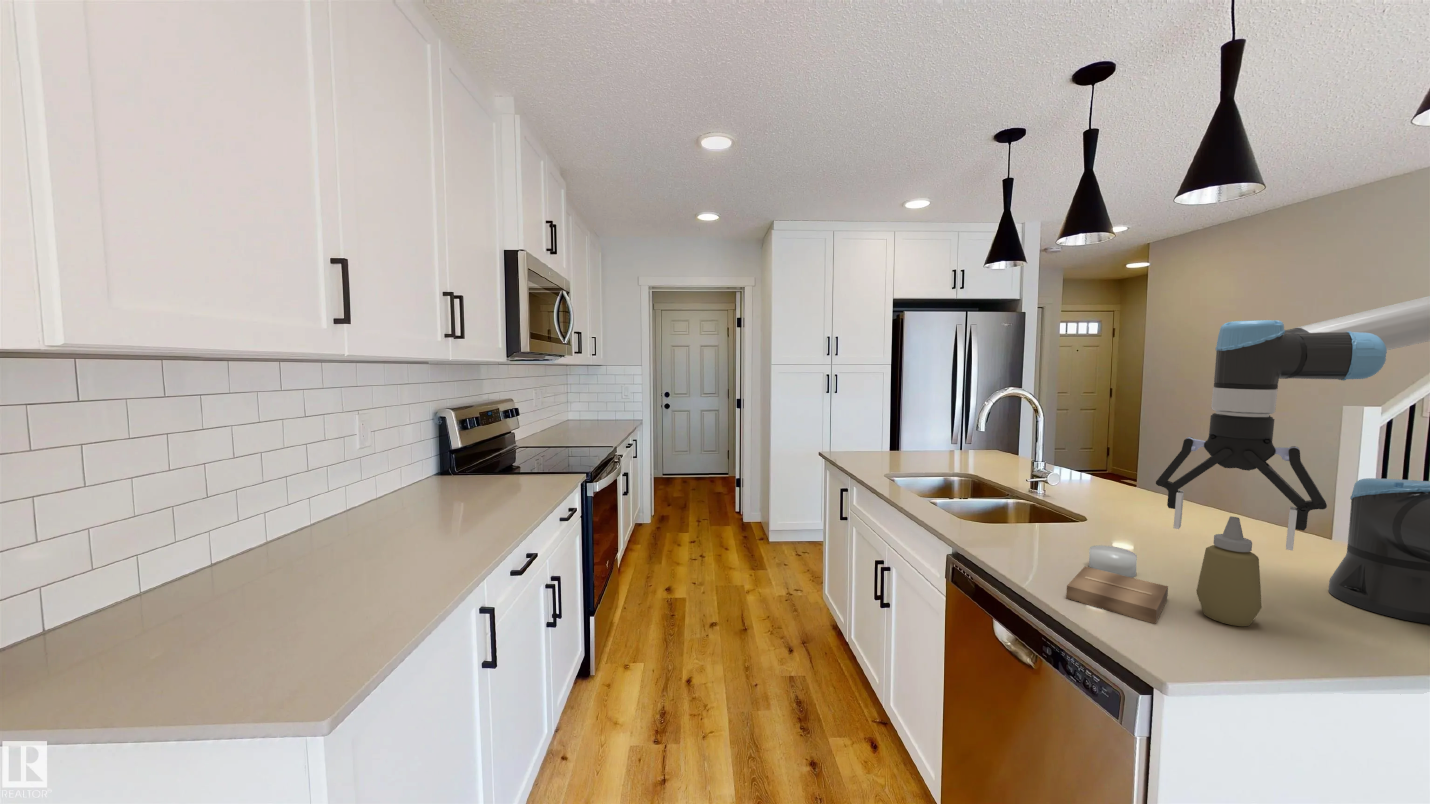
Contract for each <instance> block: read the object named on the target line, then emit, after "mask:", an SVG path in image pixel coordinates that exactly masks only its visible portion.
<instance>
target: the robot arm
mask: <svg viewBox="0 0 1430 804" xmlns="http://www.w3.org/2000/svg"><path fill="white" fill-rule="evenodd" d="M1429 342H1430V295H1428V296H1424V297H1419V298H1415V299H1411V300H1406V301H1401V302H1398V303H1395V304H1389V305H1386V306H1381V307H1377V308H1373V309H1369V310H1364V311H1360V312H1356V313H1352V314H1348V315H1347V314H1346V315H1344V316H1340V317H1339V316H1338V317H1334V318H1330V319H1326V320H1322V321H1318V322H1317V321H1316V322H1314V323H1313V322H1312V323H1309V324H1305V325H1302V326H1296V327H1294V328H1289V329H1285V324H1284V322H1283V321H1281V320H1278V319H1277V320H1276V319H1274V320H1273V319H1272V320H1270V319H1265V320H1264V319H1262V320H1261V319H1259V320H1236V321H1235V320H1233V321H1228V322H1225V323H1224V324H1222V325H1221V326H1220V328H1219V332H1218V336H1217V340H1216V345H1215V351H1216V353H1215V364H1214V365H1215V366H1214V377H1213V378H1214V379H1213V382H1214V383H1213V387H1212V396H1211V407H1210V408H1211V409H1212V410H1213V411H1215V412H1214V413H1212V414H1211V415H1210V419H1209V429H1208V431H1209V432H1208V438H1207V440H1203V439H1198V438H1197V439H1195V438H1194V437H1191V436H1188V437H1185V439H1184V440H1183V443H1182V447H1181V450H1180V451H1179V452H1178V454H1177V455H1176V456H1175V458H1174V459H1172V461H1171V462H1170V464H1168V466H1167V467H1166V469H1164V471H1163V472H1162V473H1161V474H1160V476H1158V478H1157V480H1156V481H1155V484H1156V486H1158V487H1161V488H1164V489H1166V490H1167V502H1166V503H1167V504H1166V506H1167V507H1168V509H1171V510H1174V515H1173V516H1174V519H1173V529H1174V530H1175V529H1176V530H1180V528H1181V526H1182V519H1183V518H1182V517H1183V509H1184V508H1183V507H1184V497H1185V496H1184V495H1185V491H1184V490H1180V489H1181V488H1184V486H1186V485H1187V484H1189V483H1190V482H1192V481H1193V480H1195V479H1196V478H1198V477H1199V476H1200V475H1202V474H1203V473H1205V472H1207V471H1208V470H1209V469H1211V468H1213V467H1214V466H1216V465H1219V466H1220V467H1223V468H1224V469H1239V470H1242V471H1248V472H1249V471H1253V470H1256V469H1257V470H1258V471H1259V472H1260V473H1261V474H1262V475H1264V477H1265V478H1266V479H1268V480H1269V481H1270V483H1271V484H1272V485H1273V486H1275V488H1277V489H1278V491H1280V493H1282V495H1283V496H1285V498H1286V499H1288V501H1290V502H1291V504H1293V506H1289V514H1288V522H1287V524H1288V525H1287V530H1286V540H1285V541H1286V542H1285V550H1288V551H1294V544H1295V535H1296V530H1299V531H1303V532H1304V531H1306V529H1307V526H1308V519H1309V518H1308V517H1309V512H1310V511H1313V510H1325V509H1327V507H1328V505H1327V502H1326V499H1324V497H1323V495H1322V493H1321V491H1320V490H1319V489H1318V486H1317V485H1316V484H1315V482H1314V481H1313V478H1312V477H1311V475H1310V474H1309V472H1308V470H1307V469H1306V467H1305V466H1304V464H1303V462H1302V461H1301V450H1300V447H1298V446H1295V445H1292V446H1290V447H1282V446H1281V447H1280V446H1279V447H1277V446H1276V447H1275V445H1274V443H1273V437H1274V430H1275V429H1274V426H1275V418H1274V417H1273V416H1271V415H1273V414H1274V413H1276V407H1277V399H1278V398H1277V397H1278V391H1279V390H1278V387H1279V381H1280V379H1281V380H1284V379H1285V380H1286V379H1287V380H1288V379H1293V380H1294V379H1296V380H1299V379H1301V380H1305V379H1306V380H1339V381H1344V382H1345V381H1346V380H1364V379H1368V378H1371V377H1374V376H1375V375H1377V374H1378V373H1379V371H1381V370H1382V369H1383V367H1384V365H1385V364H1386V361H1387V353H1388V351H1391V350H1395V349H1400V348H1404V347H1405V348H1406V347H1410V346H1413V345H1419V344H1424V343H1429ZM1200 448H1204V450H1205V451H1206V452H1207V453H1208V454H1209V455H1210V456H1209V457H1208V458H1207V459H1205V460H1203V462H1201V463H1200V464H1197V466H1195V467H1193V468H1192V469H1191V470H1189V471H1188V472H1187V473H1185V474H1183V475H1182V476H1181V477H1179V478H1177V479H1176V480H1175V481H1173V482H1172V481H1171V480H1170V479H1171V477H1172V476H1173V474H1175V472H1177V470H1178V469H1179V467H1180V466H1181V465H1182V464H1183V463H1184V462H1185V460H1186V459H1187V458H1189V455H1190V454H1191V453H1192V452H1197V451H1198V450H1199V449H1200ZM1275 455H1279V456H1280V457H1281V459H1282V461H1285V462H1289V464H1290V467H1291V469H1292V471H1293V472H1294V473H1295V475H1296V477H1297V478H1298V480H1299V482H1300V483H1301V485H1302V486H1303V488H1304V490H1305V491H1306V494H1307V495H1308V497H1309V500H1306V499H1304V498H1303V496H1302V495H1300V494H1299V493H1298V492H1297V491H1296V490H1295V489H1294V488H1293V487H1292V486H1291V485H1290V483H1288V482H1287V481H1286V480H1285V479H1284V478H1283V477H1282V476H1281V475H1280V474H1279V473H1278V472H1277V471H1276V470H1275V469H1274V468H1273V467H1272V466H1271V465H1270V464H1269V463H1268V461H1269V460H1270V459H1271V458H1272V457H1274V456H1275ZM1349 500H1351V501H1350V512H1349V524H1348V525H1349V526H1348V537H1347V547H1346V553H1345V556H1344V557H1343V559H1342V560H1341V561H1340V563H1339V565H1338V566H1337V568H1336V569H1335V570H1334V572H1333V574H1332V575H1331V577H1330V578H1329V580H1328V581H1329V582H1328V593H1330V595H1332V596H1333V597H1334V598H1336V599H1338V600H1340V601H1342V602H1344V603H1346V604H1349V605H1351V606H1354V607H1357V608H1359V609H1363V610H1366V611H1369V612H1372V613H1376V614H1379V615H1383V616H1387V617H1389V618H1390V617H1392V618H1395V619H1400V620H1404V621H1408V622H1414V623H1419V624H1427V625H1428V624H1429V625H1430V481H1429V480H1414V479H1399V478H1375V477H1374V478H1373V477H1372V478H1361V479H1359V480H1357V481H1356V482H1355V483H1354V485H1353V489H1352V492H1351V495H1350V499H1349Z"/></svg>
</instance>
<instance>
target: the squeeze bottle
mask: <svg viewBox="0 0 1430 804" xmlns="http://www.w3.org/2000/svg"><path fill="white" fill-rule="evenodd" d="M1252 548H1253V541H1252V540H1251V539H1248V538H1246V537H1244V535H1243V528H1242V525H1241V520H1240V517H1237V516H1231V515H1230V516H1229V518H1228V520H1227V522H1226V525H1225V527H1224V529H1223V533H1216V534H1214V535H1213V544H1212V545H1210V546H1208V547H1205V551H1204V555H1203V560H1202V563H1201V564H1202V565H1201V568H1200V573H1199V577H1198V578H1199V579H1198V582H1197V586H1196V595H1197V597H1198V601H1199V603H1200V607H1201V609H1202V613H1203V615H1205V616H1206V617H1208V618H1210V619H1212V620H1214V621H1216V622H1219V623H1223V624H1226V625H1230V626H1236V627H1237V626H1238V627H1248V626H1250V625H1252V623H1253V621H1254V620H1255V619H1256V617H1257V616H1258V614H1259V612H1261V609H1262V608H1263V607H1262V606H1263V605H1262V588H1261V587H1262V586H1261V572H1260V571H1261V570H1260V558H1259V556H1257V555H1256V554H1255V553H1254V552H1252V551H1253V550H1252Z"/></svg>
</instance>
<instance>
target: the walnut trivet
mask: <svg viewBox="0 0 1430 804" xmlns="http://www.w3.org/2000/svg"><path fill="white" fill-rule="evenodd" d="M1168 592H1169V586H1167V585H1163V584H1160V583H1156V582H1153V581H1152V582H1151V581H1149V580H1144V579H1139V578H1136V577H1132V578H1131V577H1127V576H1123V575H1119V574H1115V573H1110V572H1106V571H1102V570H1098V569H1094V568H1090V567H1089V566H1084V567H1083V568H1081V570H1080V571H1078V573H1077V574H1076V575H1075V576H1074V577H1073V578H1072V580H1071V581H1069V583H1068V584H1067V585H1066V592H1065V593H1066V595H1065V596H1066V600H1070V599H1071V601H1075V602H1077V601H1079V602H1078V603H1082V604H1085V605H1088V606H1093V607H1096V608H1098V607H1099V608H1098V609H1102V608H1103V609H1102V610H1105V611H1110V612H1112V613H1116V614H1119V615H1122V614H1123V616H1126V617H1130V618H1133V619H1136V620H1140V621H1143V622H1147V623H1150V624H1154V625H1156V624H1157V622H1158V620H1159V618H1160V617H1161V613H1162V611H1163V610H1164V608H1165V605H1166V603H1167V601H1168V596H1169V595H1168V594H1169V593H1168Z"/></svg>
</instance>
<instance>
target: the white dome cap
mask: <svg viewBox="0 0 1430 804" xmlns="http://www.w3.org/2000/svg"><path fill="white" fill-rule="evenodd" d="M1088 550H1089V551H1088V567H1090V568H1094V569H1098V570H1102V571H1106V572H1110V573H1115V574H1119V575H1123V576H1127V577H1131V578H1136V576H1137V562H1138V561H1137V560H1138V557H1137V553H1135V552H1133V551H1130V550H1128V549H1125V548H1122V547H1118V546H1113V545H1112V546H1111V545H1102V544H1101V545H1092V546H1090V547H1089V549H1088Z"/></svg>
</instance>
